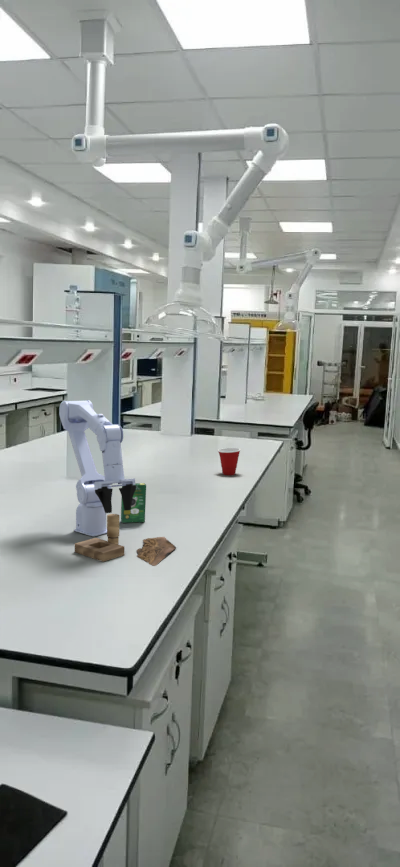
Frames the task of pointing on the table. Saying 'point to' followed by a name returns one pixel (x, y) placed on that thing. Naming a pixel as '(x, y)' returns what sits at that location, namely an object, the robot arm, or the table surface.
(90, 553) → the board
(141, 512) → the coffee box
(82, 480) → the robot arm
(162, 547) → the wooden fragment
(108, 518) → the peg
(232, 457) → the plastic cup
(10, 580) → the table surface
